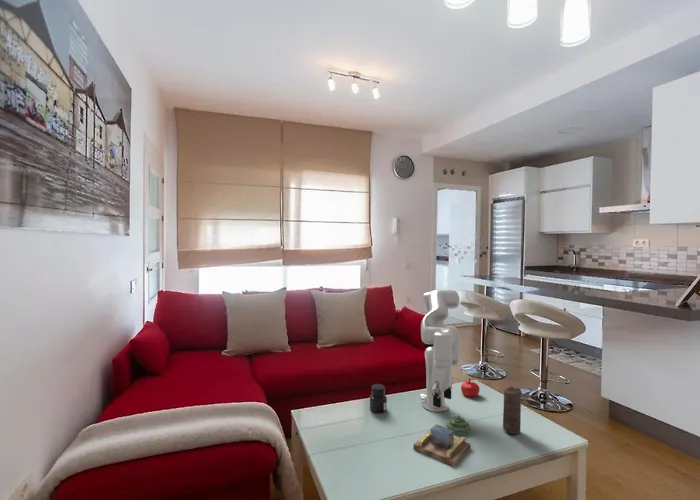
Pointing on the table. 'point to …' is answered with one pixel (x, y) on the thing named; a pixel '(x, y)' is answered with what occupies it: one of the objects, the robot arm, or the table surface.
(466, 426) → the decorative artifact
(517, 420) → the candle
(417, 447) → the channel stand
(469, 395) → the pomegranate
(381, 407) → the ink bottle
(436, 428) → the block
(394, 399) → the table surface
